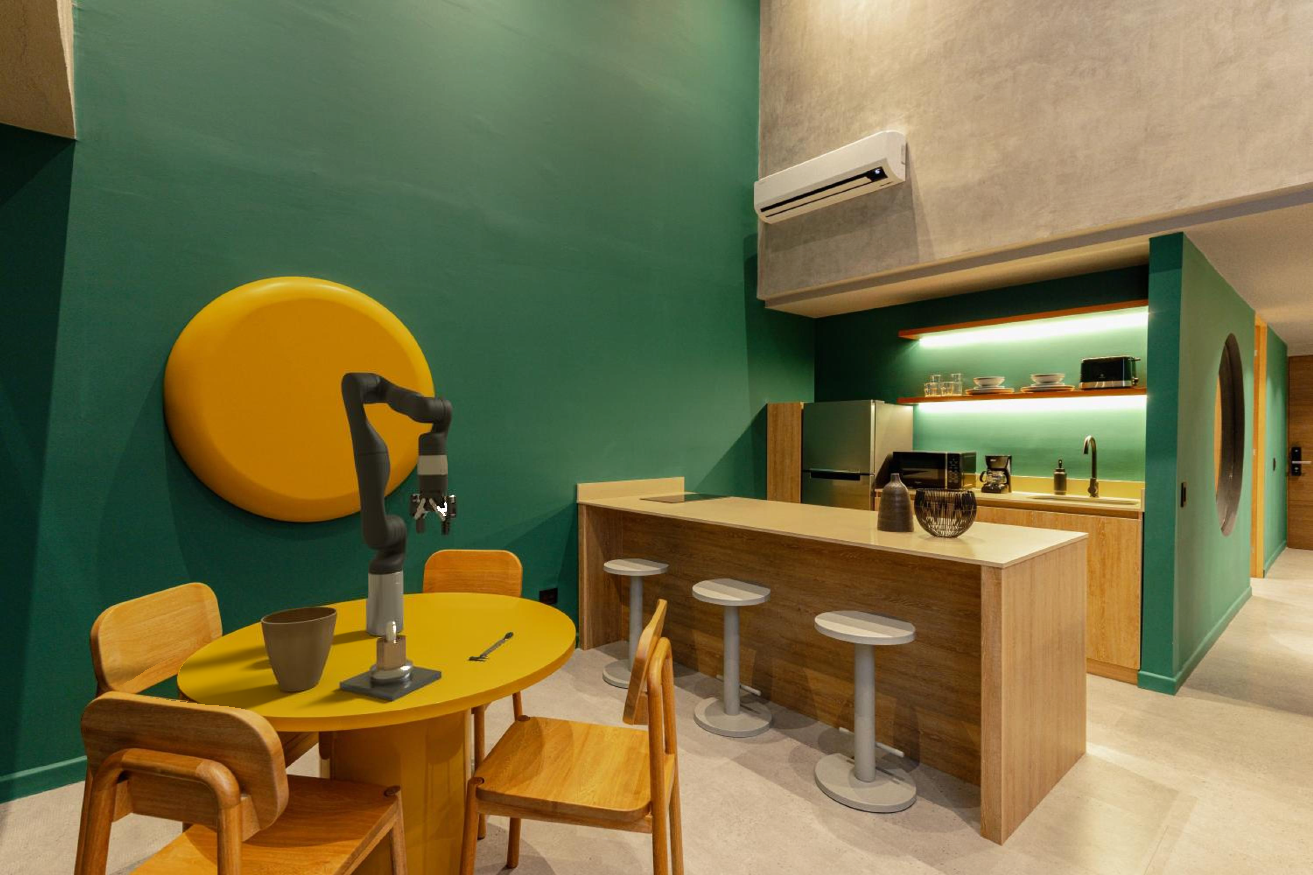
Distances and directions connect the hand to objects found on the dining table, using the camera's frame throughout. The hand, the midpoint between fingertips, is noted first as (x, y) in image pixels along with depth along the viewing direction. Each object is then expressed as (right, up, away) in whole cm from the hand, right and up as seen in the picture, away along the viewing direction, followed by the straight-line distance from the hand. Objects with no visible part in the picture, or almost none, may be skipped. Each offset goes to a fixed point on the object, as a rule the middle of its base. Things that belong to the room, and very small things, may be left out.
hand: (433, 534), depth 164 cm
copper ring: (-1, -26, -24) cm, 35 cm away
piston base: (-1, -30, -24) cm, 38 cm away
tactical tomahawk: (+17, -31, 0) cm, 35 cm away
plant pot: (-21, -30, -25) cm, 44 cm away
